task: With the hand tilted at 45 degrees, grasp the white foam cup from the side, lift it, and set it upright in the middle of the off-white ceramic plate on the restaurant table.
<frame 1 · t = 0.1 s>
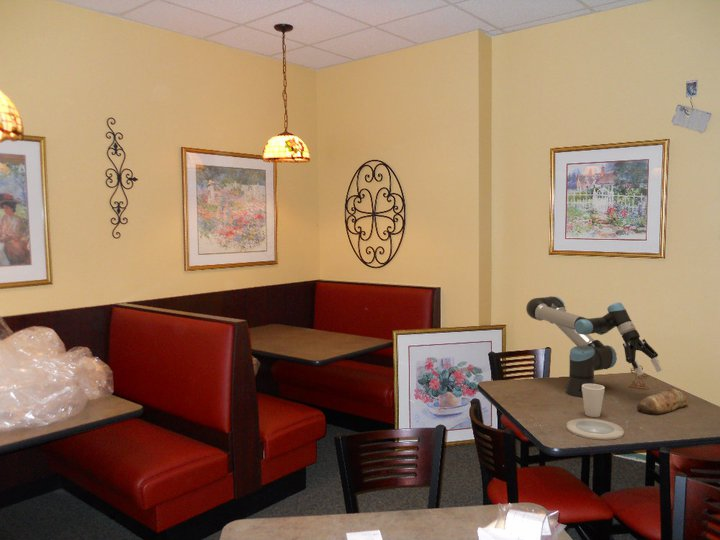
hand: (650, 372, 273), 15 cm above the table, tool tilted 35°, fingers open, 13 cm apart
foam cup: (592, 415, 260), on the table
bread loaf: (662, 409, 269), on the table
gingerbread man figurine: (638, 388, 301), on the table
plate: (594, 430, 241), on the table
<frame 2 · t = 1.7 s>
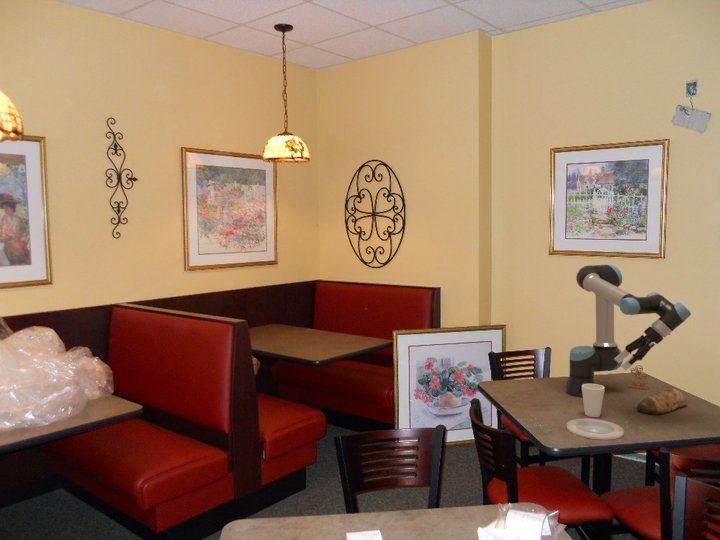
hand: (619, 364, 256), 23 cm above the table, tool tilted 45°, fingers open, 13 cm apart
nothing on the table moved.
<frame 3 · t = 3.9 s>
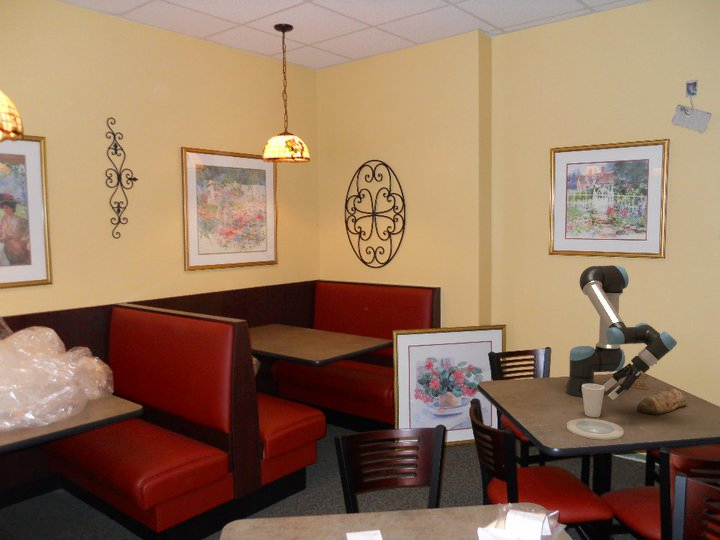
hand: (607, 393, 257), 11 cm above the table, tool tilted 45°, fingers open, 13 cm apart
nothing on the table moved.
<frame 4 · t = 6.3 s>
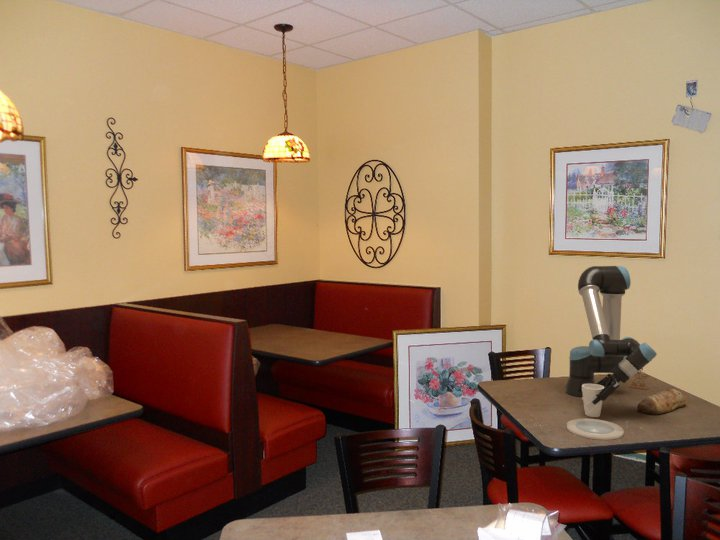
hand: (585, 404, 261), 5 cm above the table, tool tilted 45°, fingers closed on foam cup, 9 cm apart
foam cup: (592, 415, 260), on the table, touching gripper
everything else where it was.
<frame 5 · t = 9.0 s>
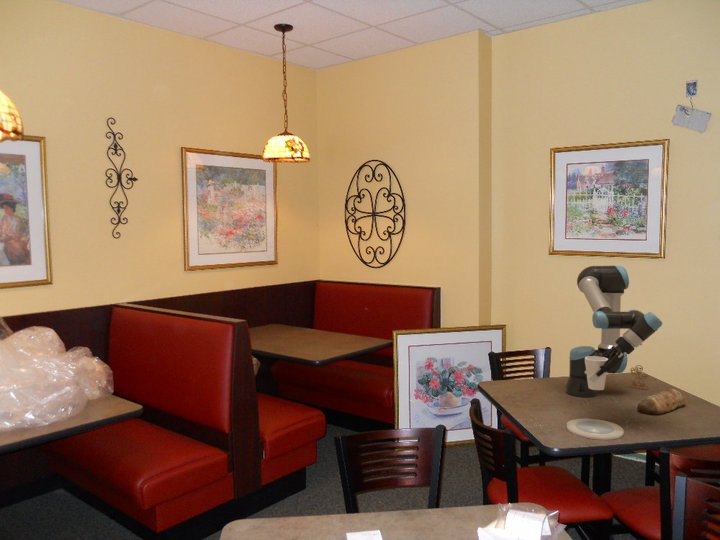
hand: (588, 377, 250), 20 cm above the table, tool tilted 45°, fingers closed on foam cup, 9 cm apart
foam cup: (596, 388, 250), point 15 cm above the table, touching gripper
everything else where it was.
when the fingers open (7 cm above the table, at t = 12.2 s): foam cup drops 1 cm, resting on plate.
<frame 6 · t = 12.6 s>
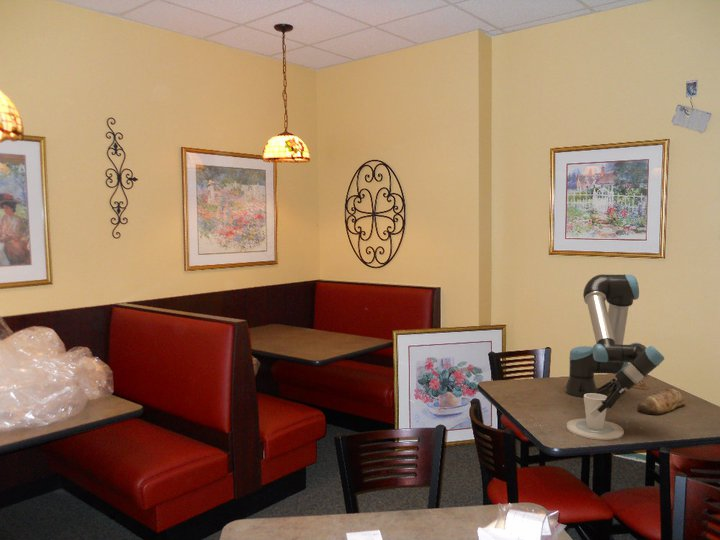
hand: (589, 410, 241), 8 cm above the table, tool tilted 45°, fingers open, 13 cm apart
foam cup: (595, 427, 241), point 1 cm above the table, touching plate
everything else where it was.
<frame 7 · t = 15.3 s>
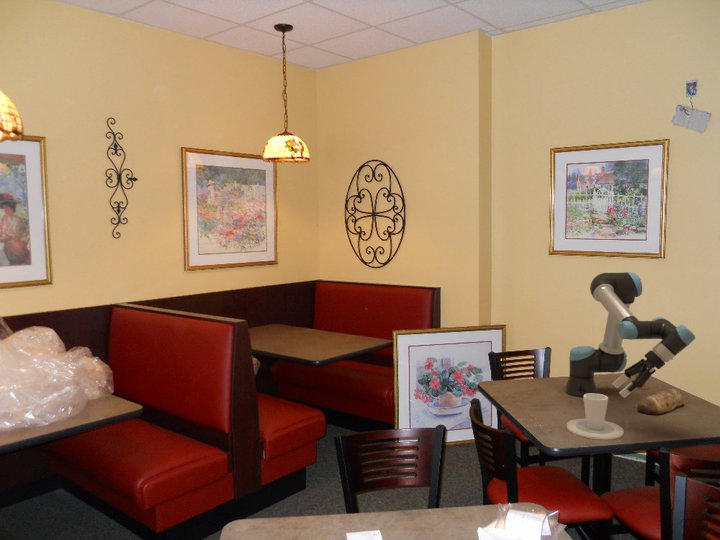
hand: (617, 390, 238), 17 cm above the table, tool tilted 45°, fingers open, 13 cm apart
nothing on the table moved.
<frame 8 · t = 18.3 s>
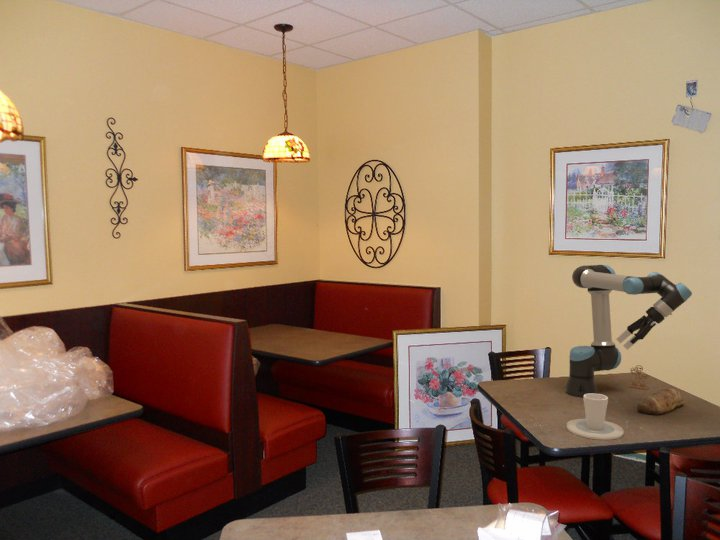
hand: (621, 344, 259), 32 cm above the table, tool tilted 45°, fingers open, 13 cm apart
at the end: foam cup inside the target area on the plate (0.1 cm from its centre), point 1.1 cm above the plate's base; foam cup tilted 0°; the gripper is holding nothing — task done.
